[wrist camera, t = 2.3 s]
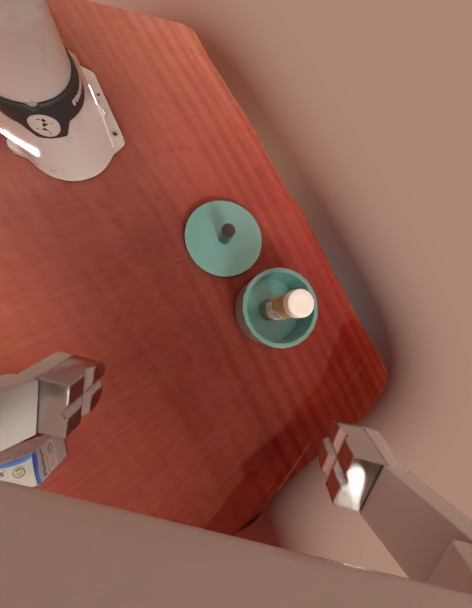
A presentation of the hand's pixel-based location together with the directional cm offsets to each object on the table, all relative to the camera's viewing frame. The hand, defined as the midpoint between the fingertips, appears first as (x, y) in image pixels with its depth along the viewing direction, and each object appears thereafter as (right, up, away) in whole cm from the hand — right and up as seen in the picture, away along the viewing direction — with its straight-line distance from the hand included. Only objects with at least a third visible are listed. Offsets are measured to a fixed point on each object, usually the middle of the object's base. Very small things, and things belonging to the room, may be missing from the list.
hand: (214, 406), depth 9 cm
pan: (+8, +2, +42) cm, 42 cm away
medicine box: (-31, -20, +31) cm, 48 cm away
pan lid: (-2, +17, +40) cm, 44 cm away
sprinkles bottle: (+8, +2, +42) cm, 42 cm away
